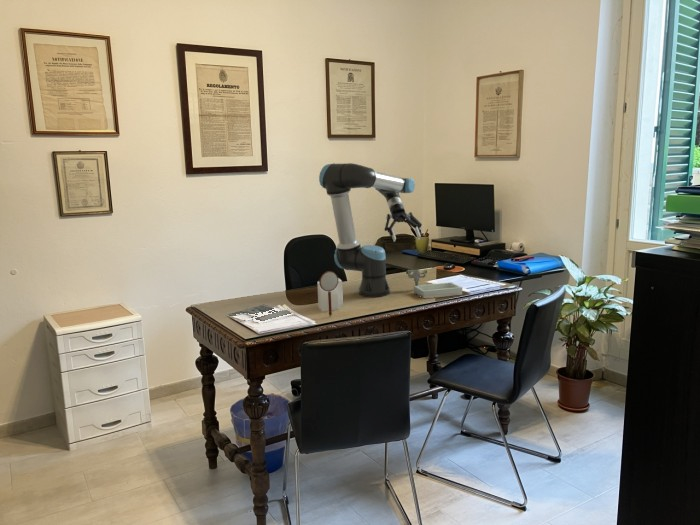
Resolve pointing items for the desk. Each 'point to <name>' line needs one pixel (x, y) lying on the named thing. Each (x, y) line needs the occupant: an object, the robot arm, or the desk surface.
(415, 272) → the mechanical component
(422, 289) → the keeper cradle
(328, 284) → the magnifying glass
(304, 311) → the desk surface
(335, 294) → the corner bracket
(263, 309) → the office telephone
